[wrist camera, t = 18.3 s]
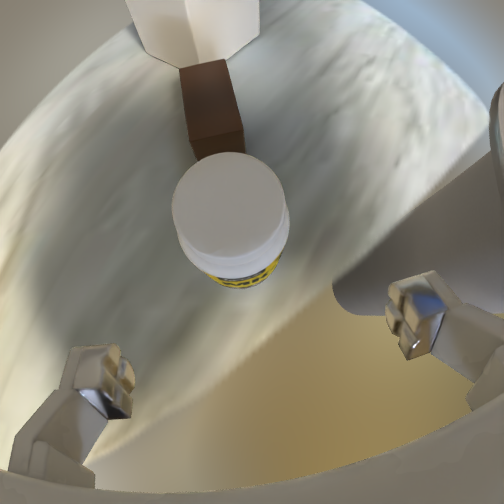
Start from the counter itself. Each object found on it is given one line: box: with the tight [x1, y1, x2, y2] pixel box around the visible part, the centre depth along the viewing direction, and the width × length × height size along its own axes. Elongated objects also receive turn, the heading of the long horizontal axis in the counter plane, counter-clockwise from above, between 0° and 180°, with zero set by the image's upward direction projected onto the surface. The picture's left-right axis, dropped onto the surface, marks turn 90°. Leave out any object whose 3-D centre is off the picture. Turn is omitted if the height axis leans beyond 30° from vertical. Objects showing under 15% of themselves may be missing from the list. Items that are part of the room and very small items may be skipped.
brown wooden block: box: [179, 59, 246, 162], centre depth 19 cm, size 6×3×4 cm, turn 12°
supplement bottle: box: [172, 152, 290, 289], centre depth 15 cm, size 5×5×8 cm
